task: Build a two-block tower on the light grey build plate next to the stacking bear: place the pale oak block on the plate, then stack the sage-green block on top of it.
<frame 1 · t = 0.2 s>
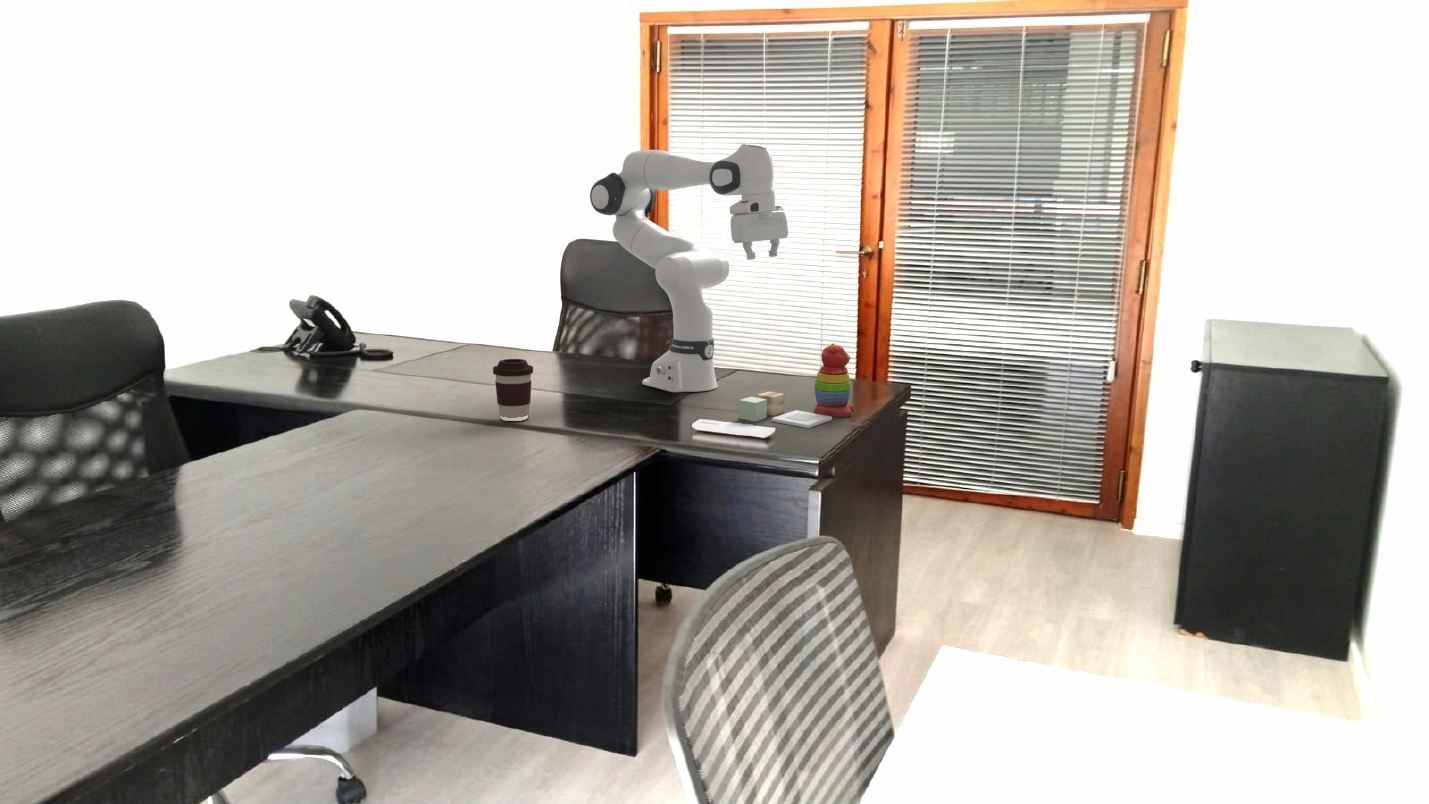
hand: (762, 258, 294), 39 cm above the table, tool pointing down, fingers open, 8 cm apart
oak block: (770, 412, 288), on the table
coffee cup: (514, 420, 279), on the table
sage block: (752, 418, 282), on the table
build plate: (801, 420, 280), on the table
stacking bear: (833, 412, 289), on the table
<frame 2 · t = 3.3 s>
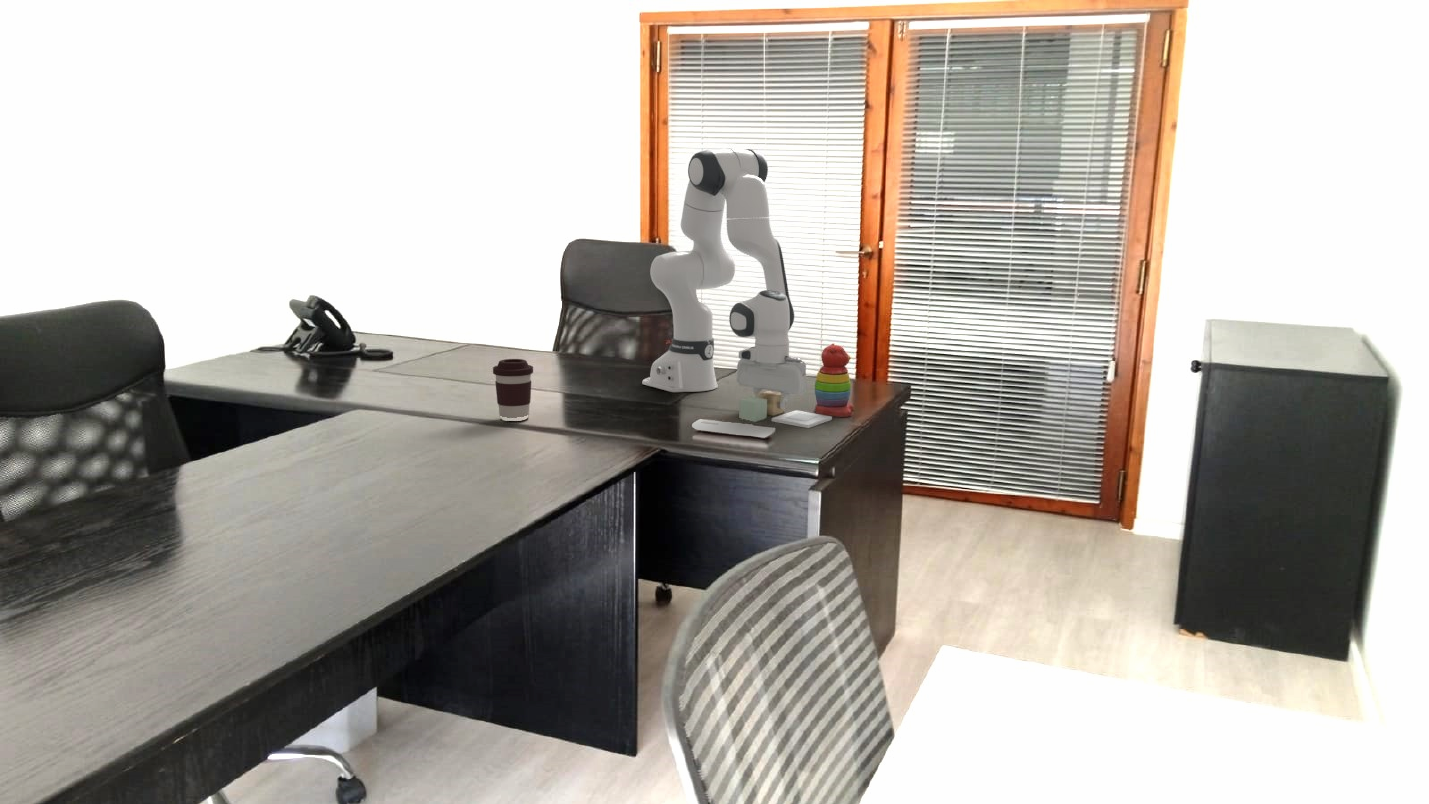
hand: (770, 406, 288), 2 cm above the table, tool pointing down, fingers closed on oak block, 5 cm apart
oak block: (770, 412, 288), on the table, touching gripper
everything else where it was.
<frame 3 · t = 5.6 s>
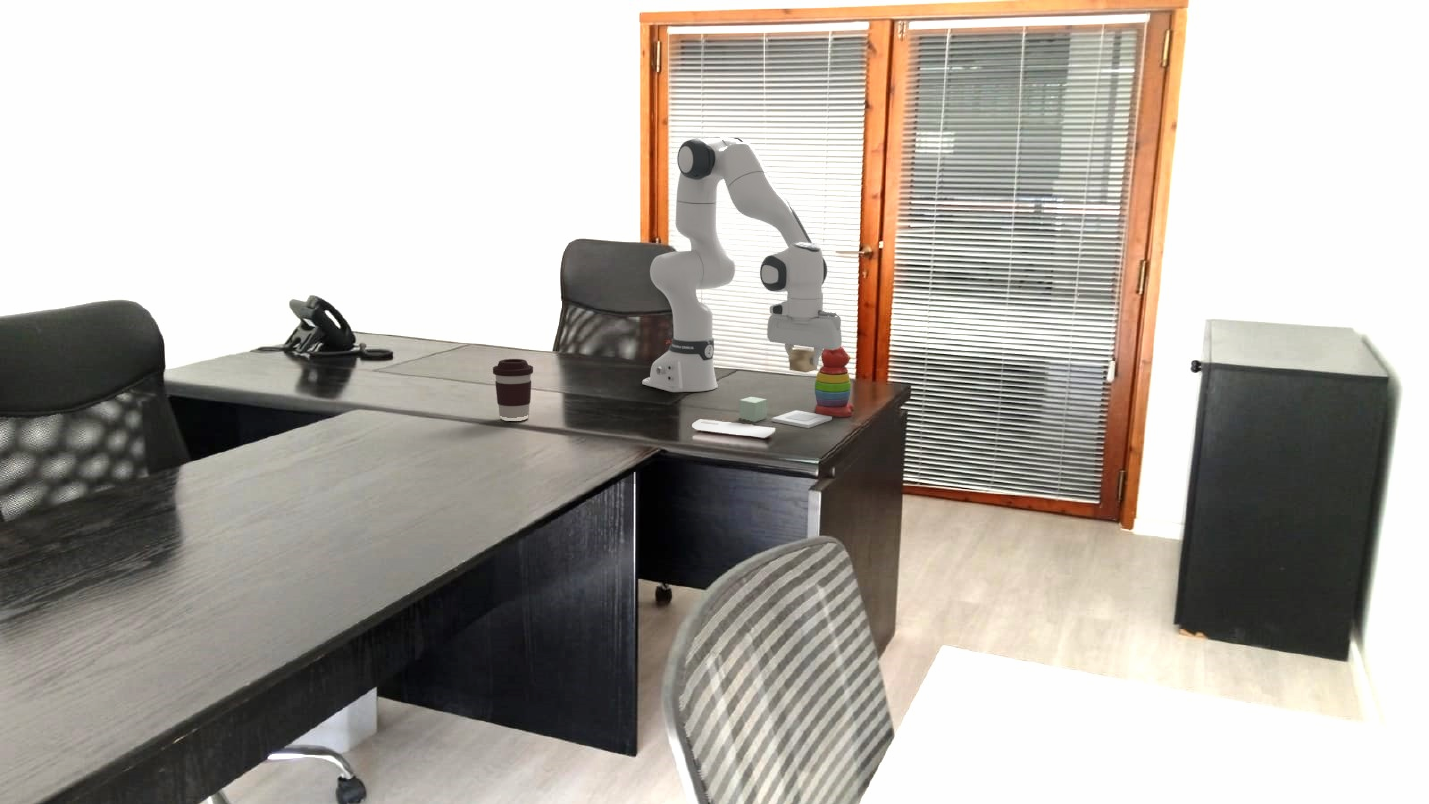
hand: (803, 363, 277), 15 cm above the table, tool pointing down, fingers closed on oak block, 5 cm apart
oak block: (803, 369, 277), point 13 cm above the table, touching gripper
everything else where it was.
when the fingers open (4 cm above the table, at t = 7.9 s): oak block drops 1 cm, resting on build plate.
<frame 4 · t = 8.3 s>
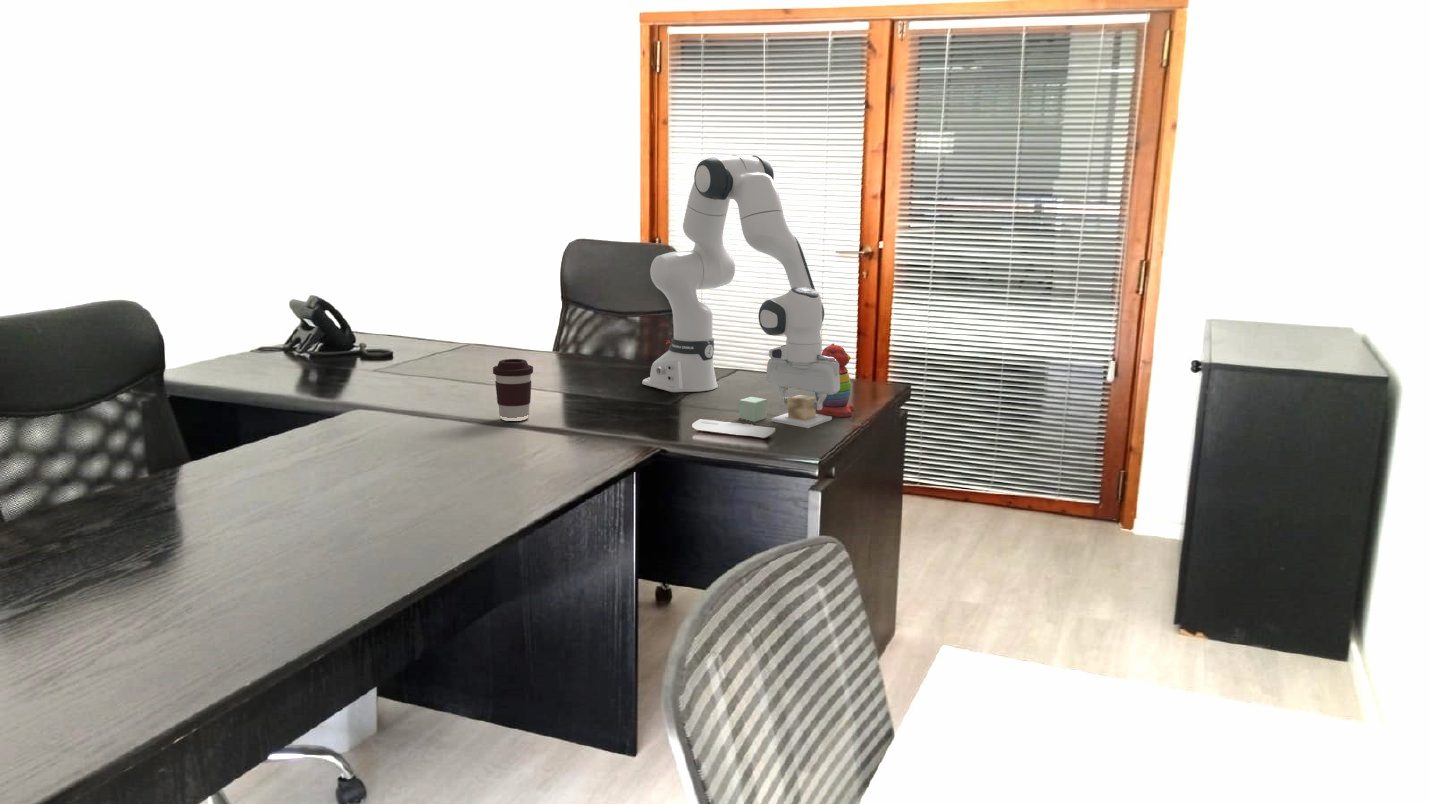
hand: (802, 406, 279), 4 cm above the table, tool pointing down, fingers open, 8 cm apart
oak block: (801, 416, 280), point 1 cm above the table, touching build plate
everything else where it was.
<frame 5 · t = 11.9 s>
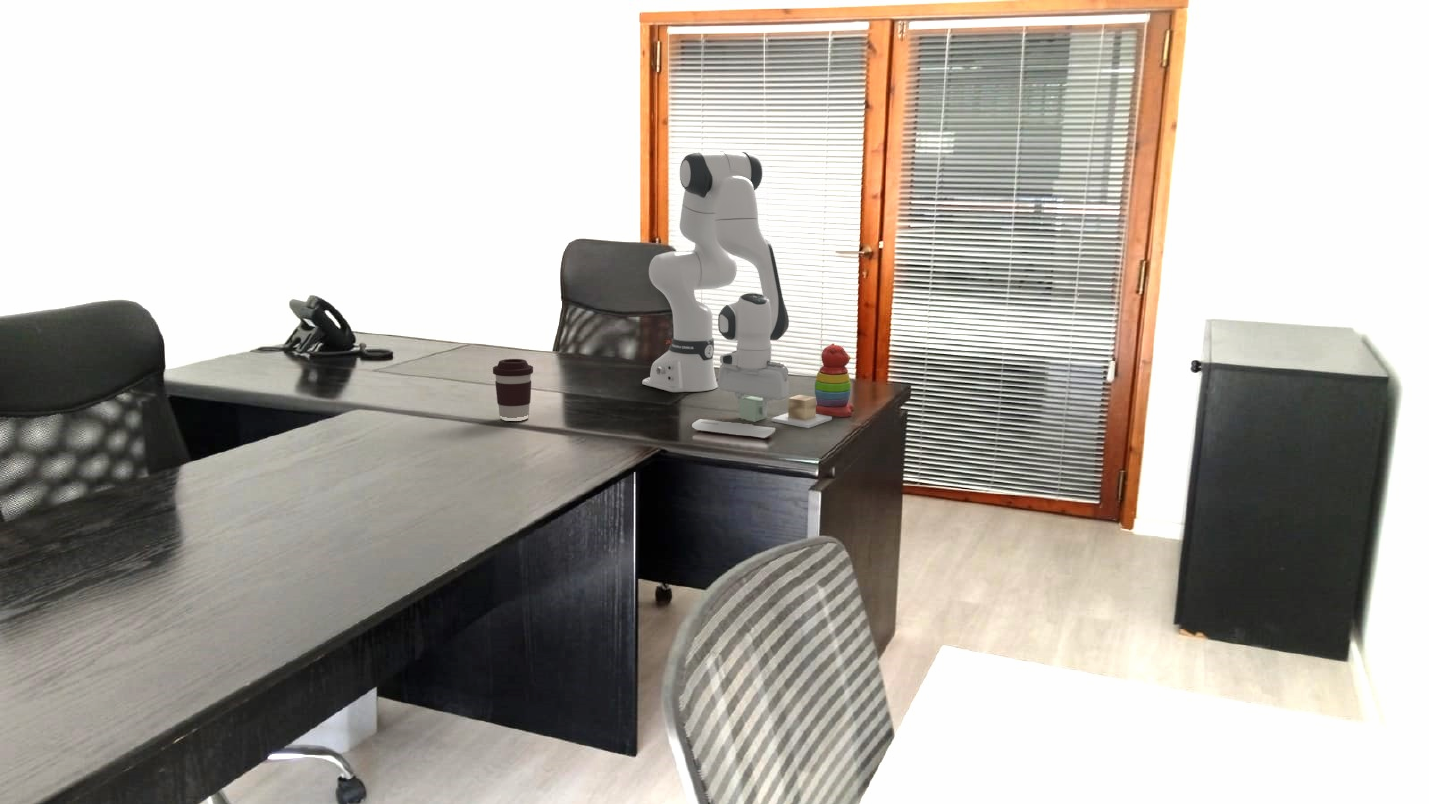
hand: (753, 412, 282), 2 cm above the table, tool pointing down, fingers closed on sage block, 5 cm apart
sage block: (752, 418, 282), on the table, touching gripper
everything else where it was.
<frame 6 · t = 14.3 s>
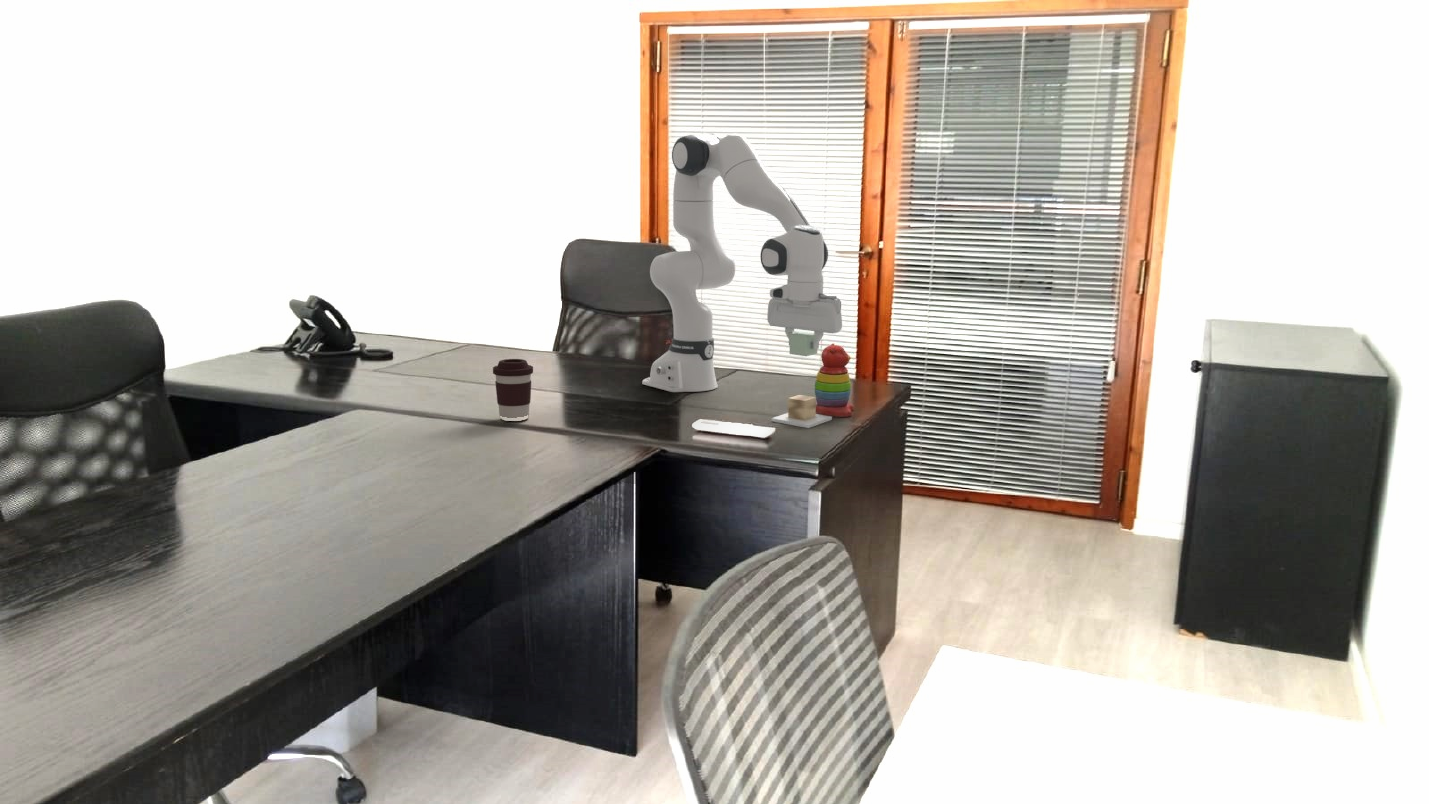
hand: (803, 347, 276), 19 cm above the table, tool pointing down, fingers closed on sage block, 5 cm apart
sage block: (803, 353, 276), point 17 cm above the table, touching gripper
everything else where it was.
when the fingers open (9 cm above the table, at t = 17.0 s): sage block drops 1 cm, resting on oak block.
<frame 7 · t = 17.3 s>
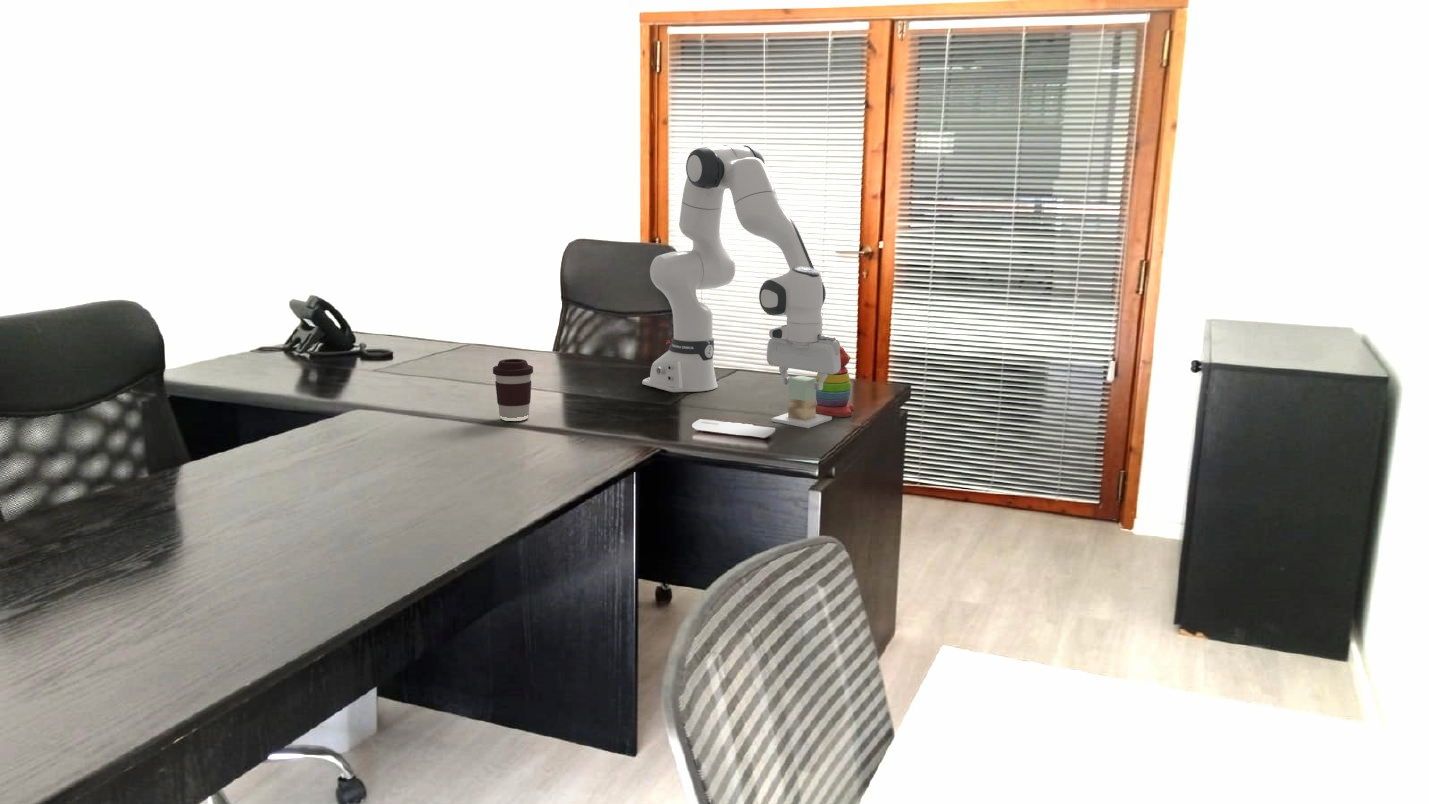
hand: (802, 387, 278), 9 cm above the table, tool pointing down, fingers open, 8 cm apart
oak block: (801, 416, 280), point 1 cm above the table, touching build plate, sage block
sage block: (802, 397, 279), point 6 cm above the table, touching oak block
everything else where it was.
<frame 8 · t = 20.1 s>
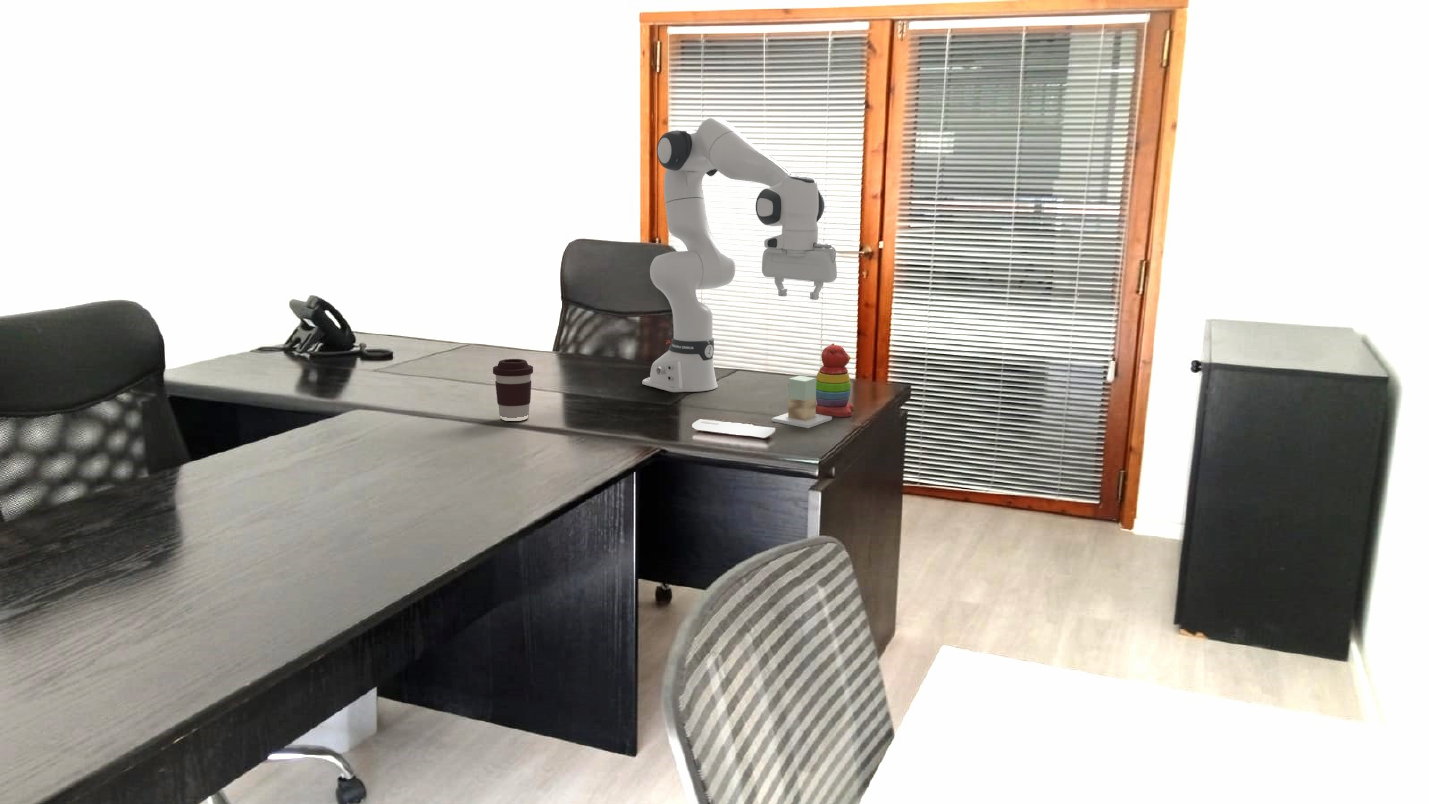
hand: (798, 297, 274), 31 cm above the table, tool pointing down, fingers open, 8 cm apart
nothing on the table moved.
at the end: oak block inside the target area on the build plate (0.1 cm from its centre), point 0.9 cm above the build plate's base; sage block 0.1 cm off-centre on the oak block, point 5.0 cm above the oak block's base; the gripper is holding nothing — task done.
